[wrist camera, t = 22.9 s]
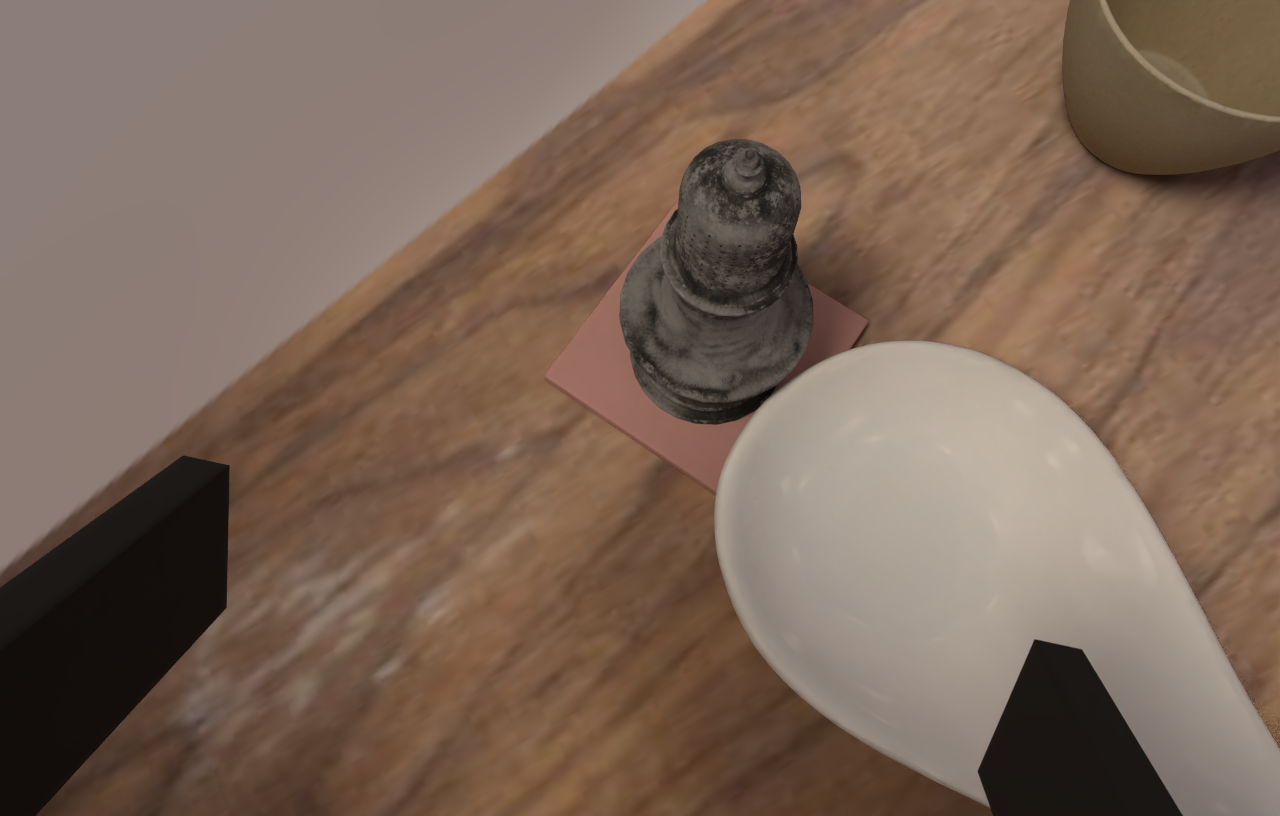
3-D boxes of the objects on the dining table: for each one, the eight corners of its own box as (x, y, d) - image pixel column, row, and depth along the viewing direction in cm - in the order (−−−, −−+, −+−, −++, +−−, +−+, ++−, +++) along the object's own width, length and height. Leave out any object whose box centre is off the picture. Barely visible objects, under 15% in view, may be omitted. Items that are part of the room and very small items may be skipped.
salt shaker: (689, 468, 29) (723, 334, 18) (587, 331, 31) (555, 124, 19) (829, 368, 30) (948, 180, 19) (724, 240, 32) (773, -10, 20)
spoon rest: (635, 513, 29) (635, 463, 22) (903, 311, 31) (978, 209, 24) (1170, 1212, 24) (1385, 1429, 17) (1449, 913, 26) (1742, 999, 19)
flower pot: (955, 52, 34) (1034, -103, 28) (1182, -23, 35) (1313, -191, 29) (1081, 274, 32) (1203, 164, 25) (1322, 187, 33) (1504, 57, 26)
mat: (544, 380, 31) (543, 375, 30) (676, 208, 32) (676, 201, 32) (740, 512, 29) (742, 510, 29) (866, 325, 31) (869, 320, 31)
